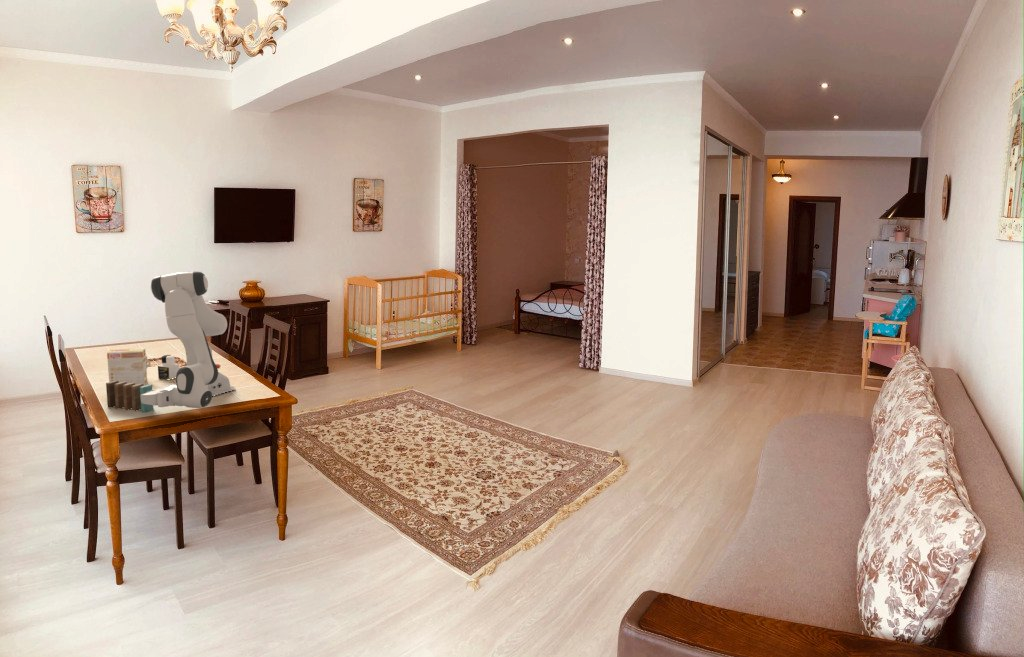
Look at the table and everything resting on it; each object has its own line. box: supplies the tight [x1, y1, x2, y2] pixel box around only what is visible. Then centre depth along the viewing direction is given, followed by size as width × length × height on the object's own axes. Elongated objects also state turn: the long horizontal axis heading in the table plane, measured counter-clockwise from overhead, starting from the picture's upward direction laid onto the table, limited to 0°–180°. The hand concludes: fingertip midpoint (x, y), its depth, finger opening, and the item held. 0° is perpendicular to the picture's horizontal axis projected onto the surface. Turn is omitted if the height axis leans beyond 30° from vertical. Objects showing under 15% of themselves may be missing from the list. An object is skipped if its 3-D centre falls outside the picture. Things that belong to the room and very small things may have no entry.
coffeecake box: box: [106, 348, 149, 386], centre depth 319 cm, size 15×7×20 cm, turn 108°
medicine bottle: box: [157, 354, 180, 380], centre depth 344 cm, size 7×7×12 cm
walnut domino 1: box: [114, 382, 127, 409], centre depth 292 cm, size 2×5×11 cm, turn 164°
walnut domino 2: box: [123, 382, 135, 411], centre depth 291 cm, size 2×5×11 cm, turn 164°
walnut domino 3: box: [131, 383, 144, 412], centre depth 290 cm, size 2×5×11 cm, turn 164°
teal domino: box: [140, 383, 155, 413], centre depth 289 cm, size 2×5×11 cm, turn 164°
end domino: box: [105, 381, 119, 408], centre depth 294 cm, size 2×5×11 cm, turn 164°
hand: (149, 391), depth 288 cm, fingers closed
